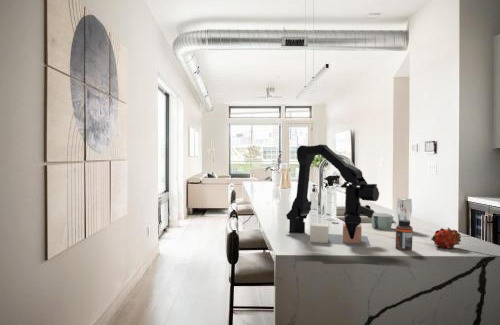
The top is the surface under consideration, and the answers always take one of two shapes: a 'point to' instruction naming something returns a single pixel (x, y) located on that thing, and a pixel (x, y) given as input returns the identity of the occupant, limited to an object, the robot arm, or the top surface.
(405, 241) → the supplement bottle
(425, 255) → the top surface
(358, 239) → the salmon pink cube
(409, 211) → the beer glass
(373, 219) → the food container
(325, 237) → the ivory rectangular chunk
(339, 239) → the mat
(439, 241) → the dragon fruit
